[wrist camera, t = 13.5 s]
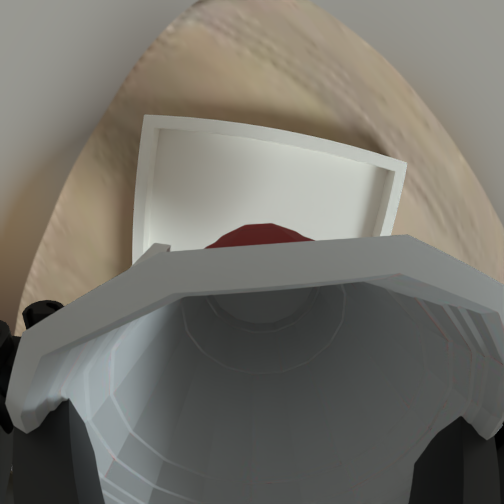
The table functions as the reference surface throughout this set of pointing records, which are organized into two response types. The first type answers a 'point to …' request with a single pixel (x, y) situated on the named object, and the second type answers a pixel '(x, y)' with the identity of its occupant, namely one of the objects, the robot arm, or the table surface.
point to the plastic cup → (270, 368)
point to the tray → (255, 184)
